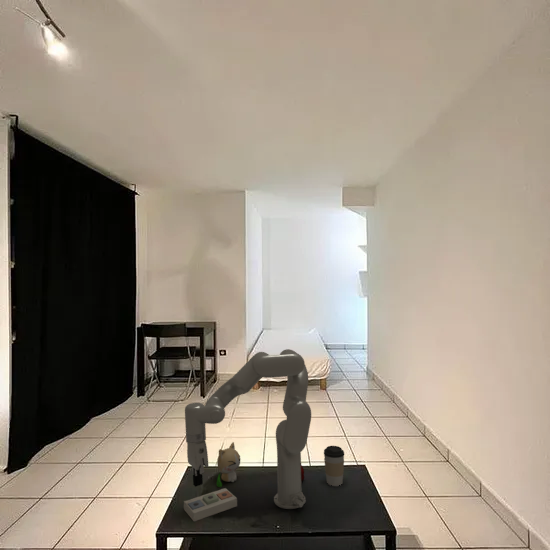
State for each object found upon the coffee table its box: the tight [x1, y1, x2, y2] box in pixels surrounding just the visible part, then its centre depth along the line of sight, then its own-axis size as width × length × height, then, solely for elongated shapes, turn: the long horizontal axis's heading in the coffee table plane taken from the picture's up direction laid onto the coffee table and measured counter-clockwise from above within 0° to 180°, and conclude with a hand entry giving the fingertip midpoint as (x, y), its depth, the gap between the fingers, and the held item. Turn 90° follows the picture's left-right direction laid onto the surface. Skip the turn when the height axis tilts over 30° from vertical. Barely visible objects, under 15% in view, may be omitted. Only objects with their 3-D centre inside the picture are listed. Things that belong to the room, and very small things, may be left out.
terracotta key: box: [217, 490, 232, 500], centre depth 160 cm, size 5×5×2 cm
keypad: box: [183, 487, 238, 522], centre depth 156 cm, size 10×18×3 cm, turn 124°
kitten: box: [216, 441, 241, 488], centre depth 179 cm, size 15×10×15 cm
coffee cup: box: [323, 445, 345, 487], centre depth 175 cm, size 9×9×15 cm
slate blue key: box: [188, 500, 204, 510], centre depth 153 cm, size 5×5×2 cm
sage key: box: [203, 492, 219, 505], centre depth 157 cm, size 5×5×2 cm
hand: (198, 484), depth 154 cm, fingers closed
